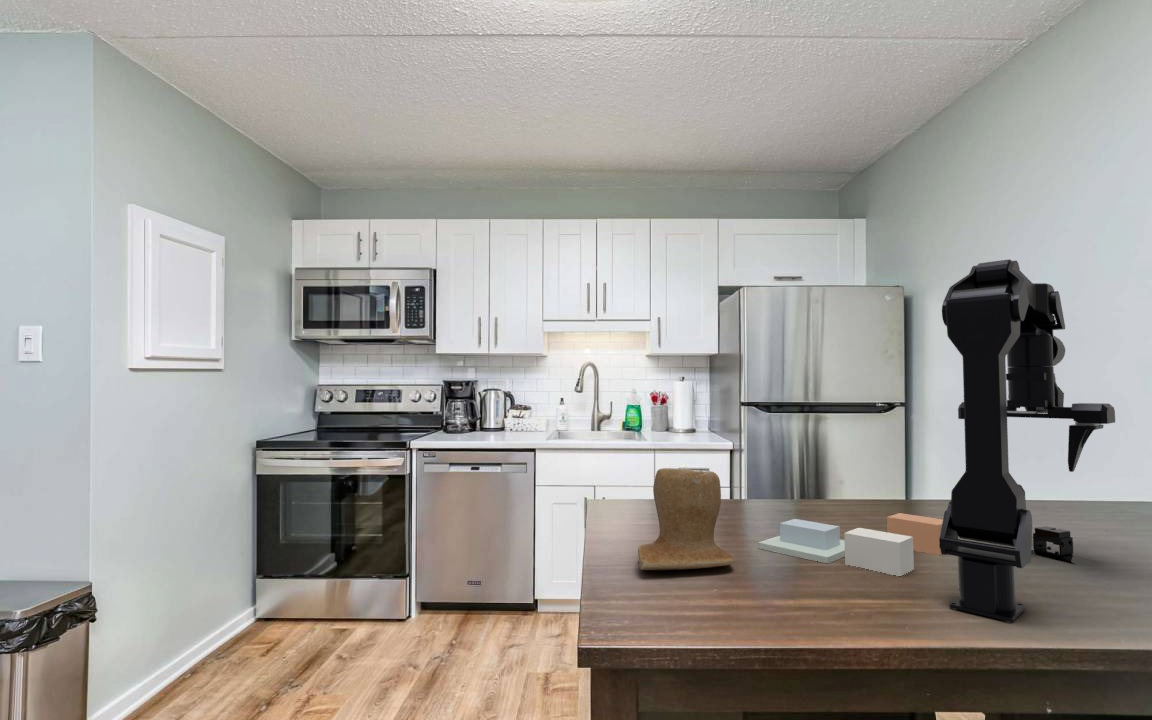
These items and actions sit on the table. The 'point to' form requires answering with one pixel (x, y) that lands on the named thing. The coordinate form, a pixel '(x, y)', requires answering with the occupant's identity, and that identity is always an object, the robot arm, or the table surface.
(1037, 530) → the black mechanical block
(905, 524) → the terracotta brick
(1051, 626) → the table surface
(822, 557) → the baseplate
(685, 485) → the brown upright flared piece
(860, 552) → the ivory brick
